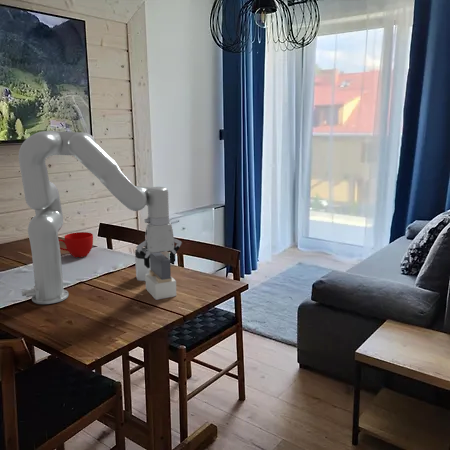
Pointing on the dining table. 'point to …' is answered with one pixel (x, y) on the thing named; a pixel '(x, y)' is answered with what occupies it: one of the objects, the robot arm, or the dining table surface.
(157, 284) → the white toaster
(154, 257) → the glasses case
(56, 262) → the robot arm
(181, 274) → the dining table surface
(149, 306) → the dining table surface
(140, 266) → the jar
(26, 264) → the dining table surface
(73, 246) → the ceramic cup
